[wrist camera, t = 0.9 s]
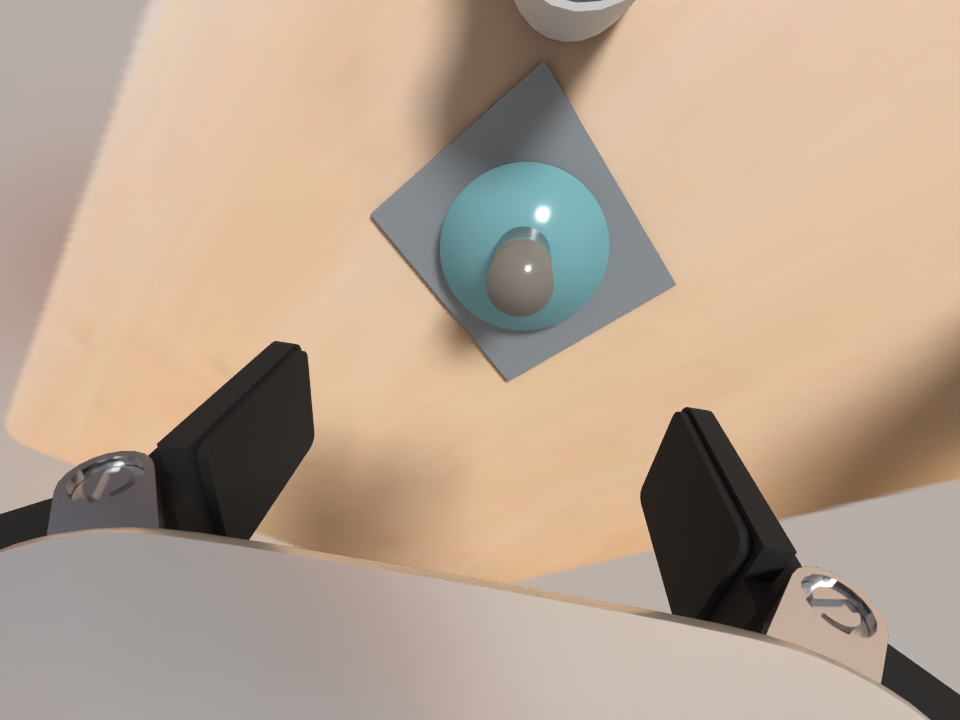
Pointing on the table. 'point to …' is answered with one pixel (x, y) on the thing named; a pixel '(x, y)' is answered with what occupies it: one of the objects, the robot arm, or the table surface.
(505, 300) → the lid
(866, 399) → the table surface
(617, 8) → the cup
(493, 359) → the mat
